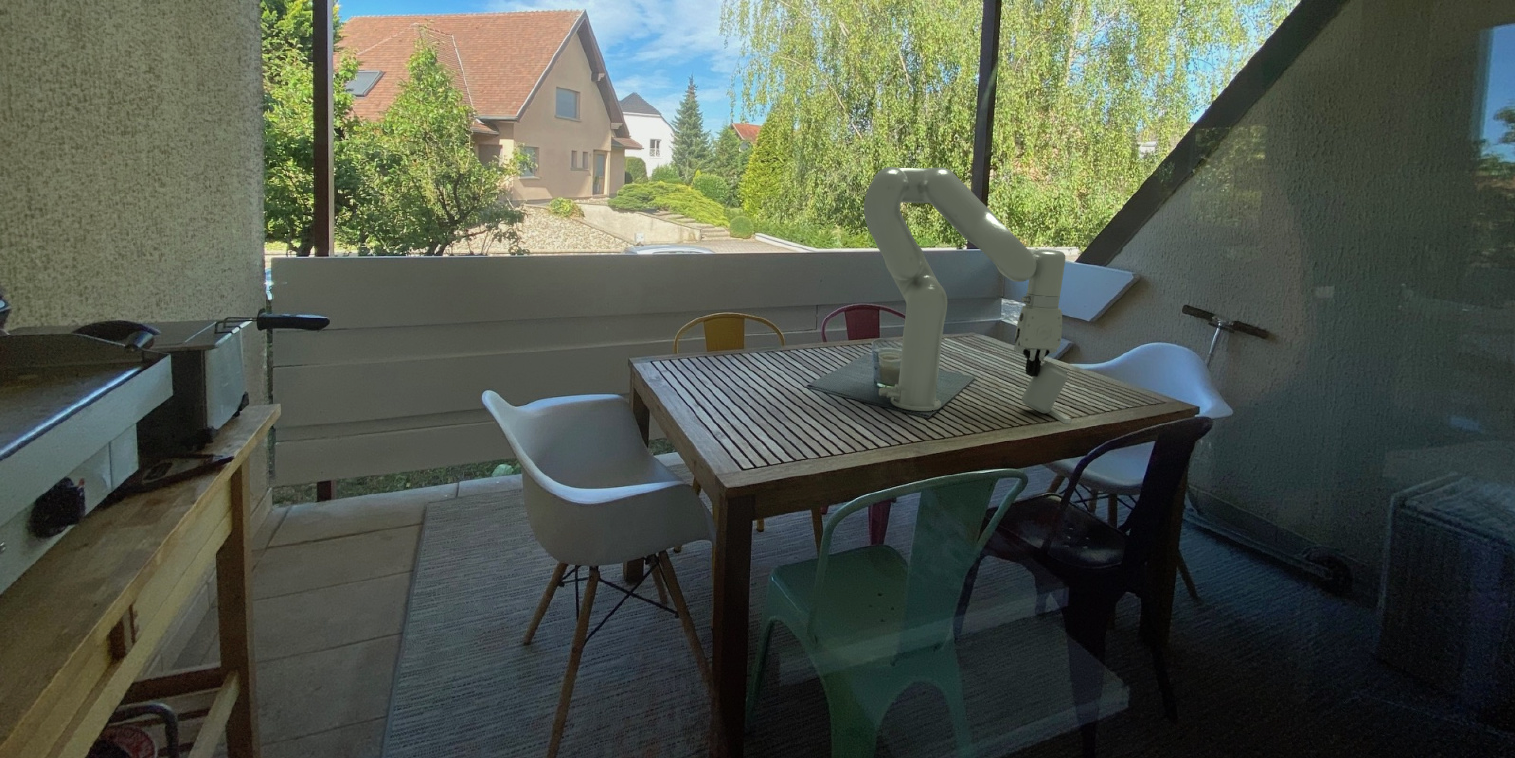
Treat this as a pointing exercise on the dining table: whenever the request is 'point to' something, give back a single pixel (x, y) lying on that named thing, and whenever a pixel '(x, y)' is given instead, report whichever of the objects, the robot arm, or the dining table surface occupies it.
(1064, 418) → the stop strip
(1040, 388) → the can
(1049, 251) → the robot arm
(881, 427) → the dining table surface
